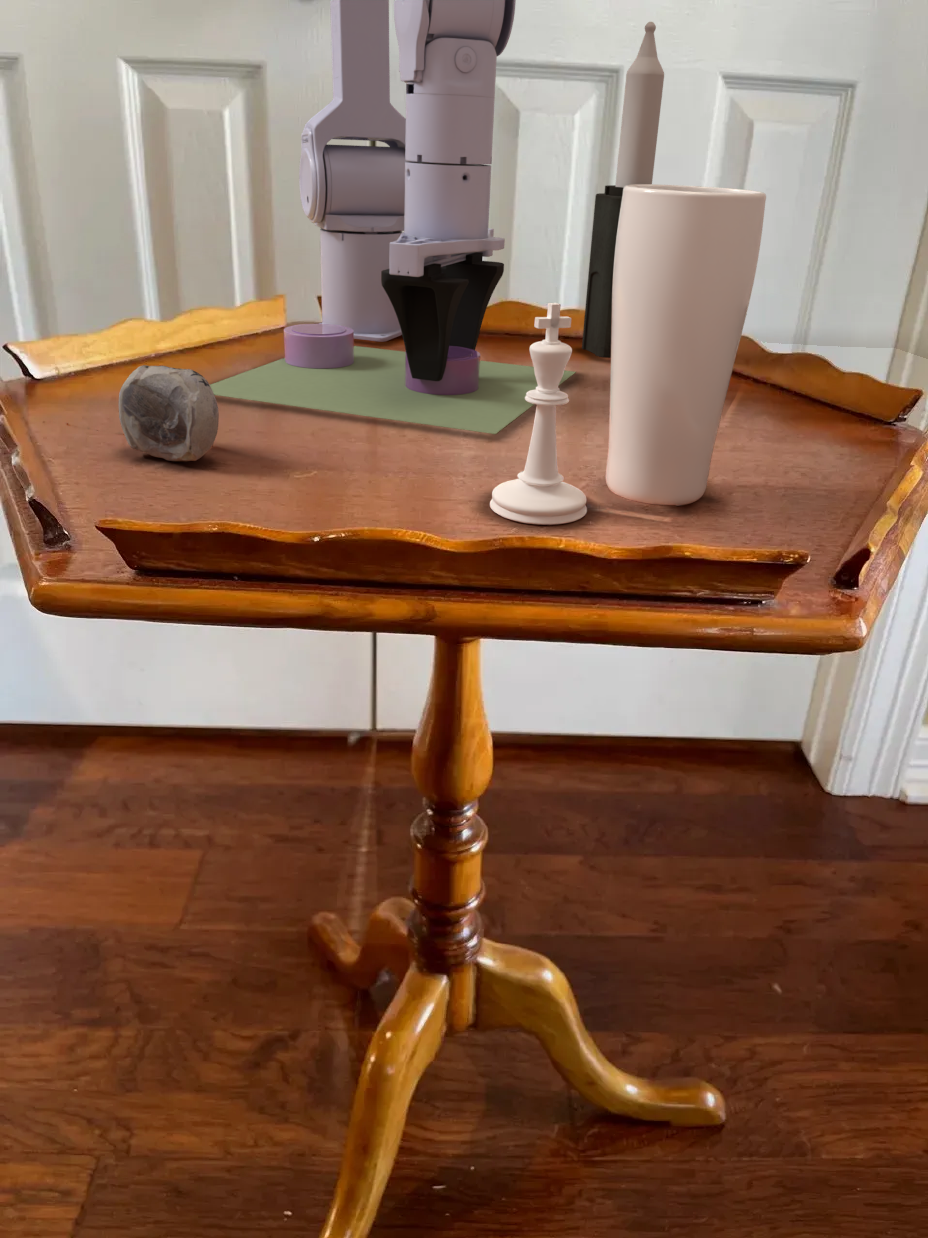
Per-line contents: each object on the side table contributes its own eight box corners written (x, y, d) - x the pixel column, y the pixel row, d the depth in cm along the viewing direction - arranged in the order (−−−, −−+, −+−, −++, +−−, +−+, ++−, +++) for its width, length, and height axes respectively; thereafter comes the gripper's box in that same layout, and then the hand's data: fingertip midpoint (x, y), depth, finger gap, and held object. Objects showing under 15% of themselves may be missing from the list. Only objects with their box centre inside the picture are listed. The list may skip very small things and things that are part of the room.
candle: (577, 348, 88) (606, 21, 77) (629, 347, 89) (665, 26, 78) (601, 361, 84) (635, 15, 72) (655, 359, 85) (697, 21, 74)
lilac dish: (305, 351, 81) (304, 320, 80) (365, 358, 79) (365, 327, 78) (271, 363, 76) (270, 330, 75) (334, 371, 75) (334, 338, 74)
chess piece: (604, 519, 49) (627, 311, 45) (513, 529, 47) (528, 313, 43) (559, 488, 53) (576, 294, 49) (474, 496, 51) (484, 296, 47)
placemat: (326, 345, 85) (326, 342, 85) (575, 375, 78) (576, 371, 78) (191, 395, 68) (191, 391, 68) (495, 438, 61) (495, 433, 61)
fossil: (107, 455, 55) (96, 364, 53) (146, 440, 58) (137, 353, 56) (204, 472, 53) (197, 379, 51) (240, 456, 56) (234, 367, 54)
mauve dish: (421, 374, 75) (422, 341, 74) (489, 382, 73) (490, 349, 72) (392, 389, 70) (393, 354, 69) (463, 398, 69) (465, 362, 68)
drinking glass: (580, 472, 56) (608, 181, 49) (698, 474, 56) (741, 187, 50) (604, 514, 50) (639, 189, 43) (735, 516, 50) (790, 196, 44)
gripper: (467, 168, 58) (458, 399, 64) (537, 165, 70) (524, 358, 76) (358, 162, 60) (360, 386, 66) (445, 160, 72) (439, 348, 78)
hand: (442, 370), depth 71 cm, fingers closed on mauve dish, 5 cm apart
